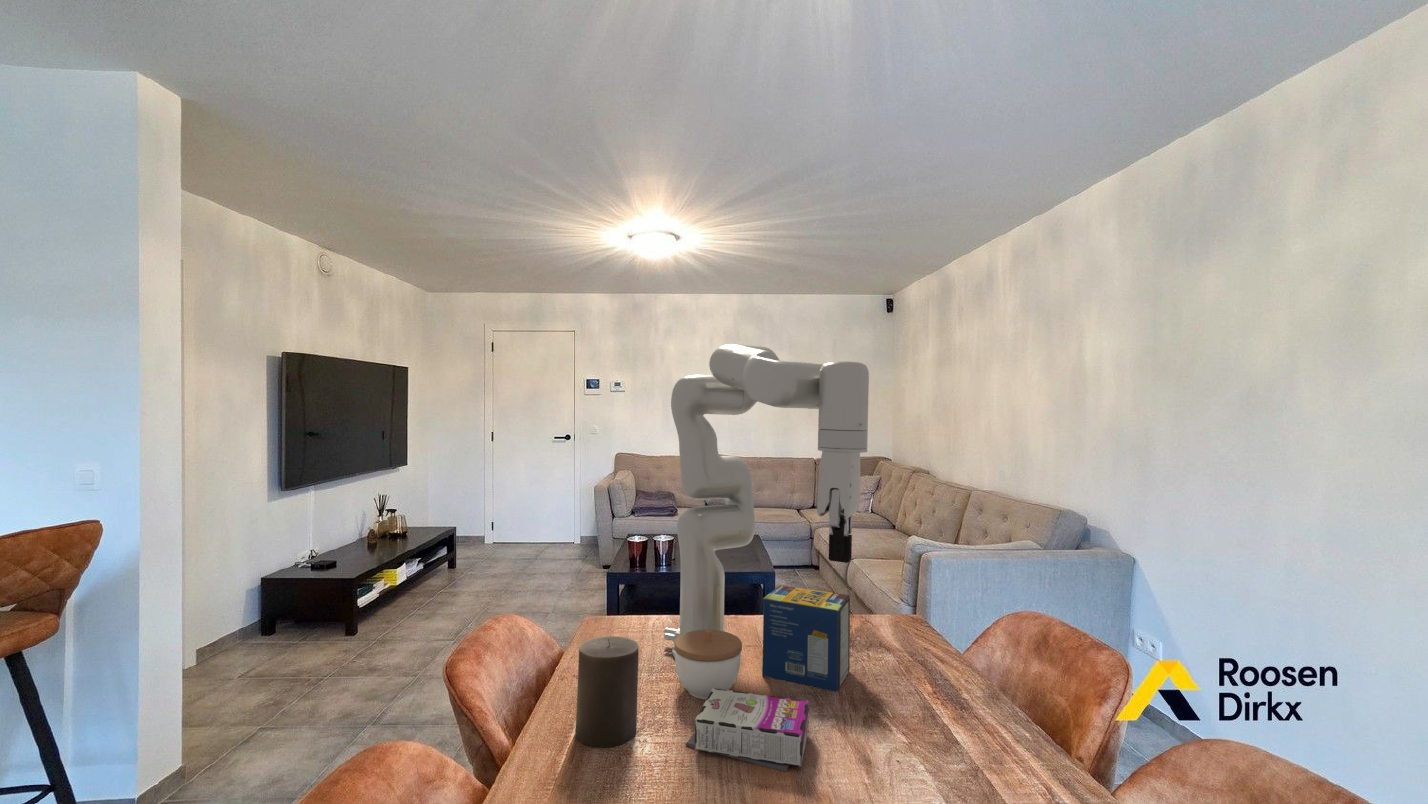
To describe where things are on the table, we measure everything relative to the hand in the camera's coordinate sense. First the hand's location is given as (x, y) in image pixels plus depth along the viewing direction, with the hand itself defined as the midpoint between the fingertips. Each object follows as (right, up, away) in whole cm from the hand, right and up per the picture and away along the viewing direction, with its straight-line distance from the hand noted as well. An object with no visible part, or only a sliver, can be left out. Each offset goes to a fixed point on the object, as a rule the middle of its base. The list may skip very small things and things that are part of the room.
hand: (839, 560), depth 92 cm
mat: (-14, -29, +3) cm, 32 cm away
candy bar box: (-5, -26, -1) cm, 27 cm away
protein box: (-1, -30, +27) cm, 41 cm away
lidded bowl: (-21, -30, +19) cm, 41 cm away
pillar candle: (-37, -29, +4) cm, 47 cm away
